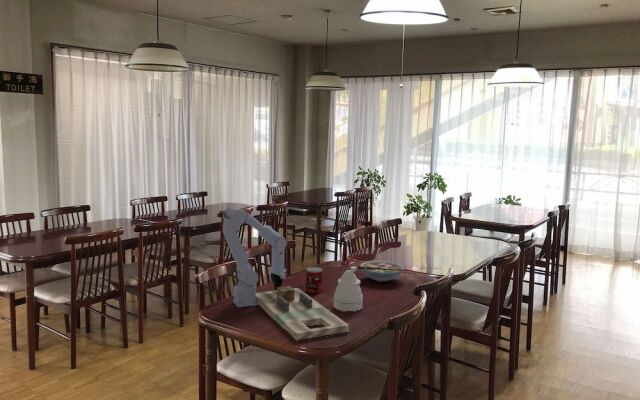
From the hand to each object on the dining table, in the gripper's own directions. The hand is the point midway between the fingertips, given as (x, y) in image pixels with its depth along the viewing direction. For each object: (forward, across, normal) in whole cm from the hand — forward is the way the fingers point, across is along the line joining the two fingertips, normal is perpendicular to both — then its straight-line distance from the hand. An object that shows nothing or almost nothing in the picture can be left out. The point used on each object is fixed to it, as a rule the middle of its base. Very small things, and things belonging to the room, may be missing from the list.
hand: (277, 289), depth 238 cm
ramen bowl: (+4, +7, -61) cm, 62 cm away
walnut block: (+1, -10, 0) cm, 10 cm away
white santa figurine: (+4, -22, -25) cm, 34 cm away
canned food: (+4, +3, -20) cm, 21 cm away
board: (+4, -23, 0) cm, 23 cm away
